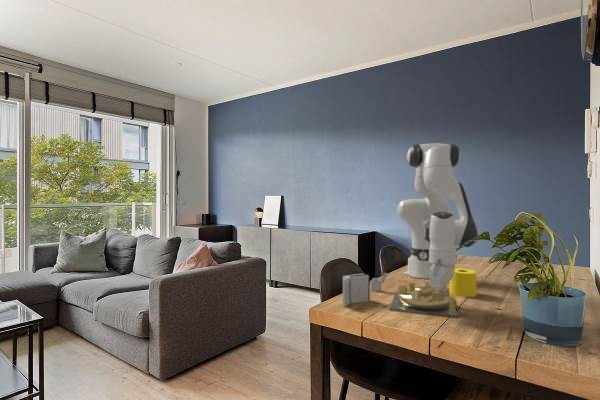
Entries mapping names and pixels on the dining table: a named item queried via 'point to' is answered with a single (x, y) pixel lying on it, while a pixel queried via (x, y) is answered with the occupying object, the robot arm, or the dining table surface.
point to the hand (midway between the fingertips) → (442, 295)
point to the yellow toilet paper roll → (463, 283)
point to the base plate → (448, 311)
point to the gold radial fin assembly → (422, 296)
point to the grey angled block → (377, 283)
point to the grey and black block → (356, 288)
